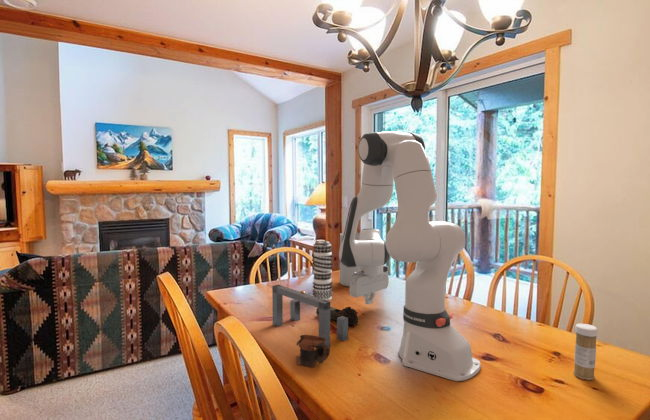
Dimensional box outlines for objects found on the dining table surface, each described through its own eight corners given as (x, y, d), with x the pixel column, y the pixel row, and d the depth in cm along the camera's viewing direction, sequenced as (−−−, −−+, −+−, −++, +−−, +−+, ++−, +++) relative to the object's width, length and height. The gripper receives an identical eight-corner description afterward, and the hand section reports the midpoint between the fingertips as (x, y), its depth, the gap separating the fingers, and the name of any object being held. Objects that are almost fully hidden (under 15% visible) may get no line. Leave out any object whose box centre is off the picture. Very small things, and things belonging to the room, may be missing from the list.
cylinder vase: (362, 280, 192) (362, 232, 190) (366, 286, 180) (367, 235, 178) (338, 280, 191) (338, 232, 190) (341, 287, 179) (341, 236, 177)
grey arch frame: (331, 346, 114) (331, 299, 113) (324, 349, 111) (324, 301, 110) (279, 322, 133) (279, 282, 132) (272, 324, 131) (272, 284, 130)
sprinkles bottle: (585, 371, 98) (588, 322, 98) (599, 381, 94) (602, 329, 93) (569, 372, 98) (571, 322, 97) (581, 381, 94) (584, 329, 93)
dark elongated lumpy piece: (315, 317, 139) (316, 302, 139) (328, 313, 144) (328, 298, 144) (351, 329, 127) (352, 313, 126) (364, 324, 132) (364, 309, 131)
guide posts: (347, 339, 119) (348, 317, 118) (342, 341, 117) (342, 319, 116) (295, 317, 138) (295, 299, 137) (290, 319, 136) (290, 300, 136)
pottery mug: (286, 364, 103) (291, 333, 107) (309, 368, 109) (313, 339, 113) (317, 366, 95) (321, 333, 99) (340, 371, 101) (344, 340, 105)
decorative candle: (325, 302, 156) (326, 243, 154) (307, 298, 160) (307, 241, 159) (336, 296, 163) (337, 240, 162) (319, 293, 168) (319, 239, 167)
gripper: (358, 274, 136) (357, 311, 137) (391, 266, 150) (390, 299, 151) (345, 271, 141) (345, 307, 141) (379, 264, 155) (378, 296, 156)
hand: (369, 303), depth 146 cm, fingers closed
